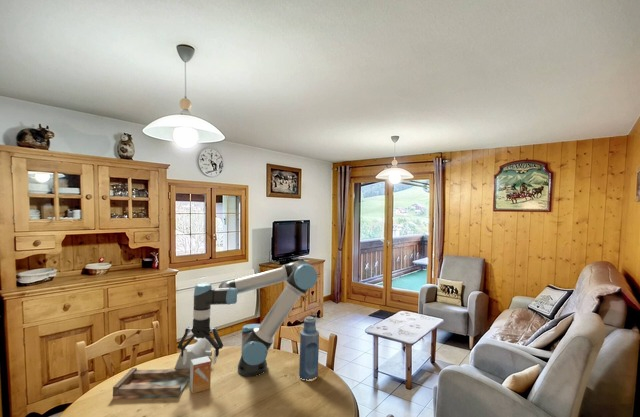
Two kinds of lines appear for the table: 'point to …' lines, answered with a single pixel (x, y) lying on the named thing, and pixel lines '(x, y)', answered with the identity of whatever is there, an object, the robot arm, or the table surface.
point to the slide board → (152, 383)
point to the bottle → (309, 349)
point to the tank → (195, 352)
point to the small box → (200, 374)
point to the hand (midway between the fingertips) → (199, 363)
